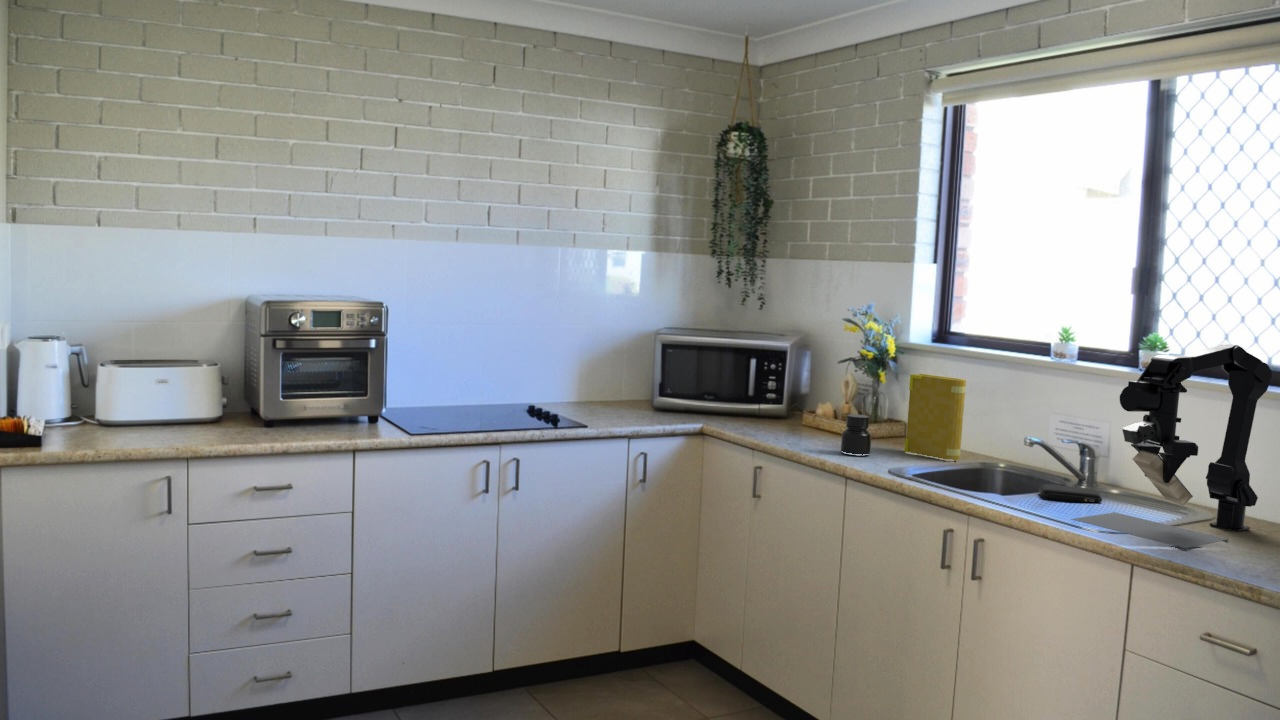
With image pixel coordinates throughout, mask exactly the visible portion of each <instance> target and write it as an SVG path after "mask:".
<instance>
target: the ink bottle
mask: <svg viewBox="0 0 1280 720" xmlns="http://www.w3.org/2000/svg"><path fill="white" fill-rule="evenodd" d="M869 423H870V416H868V415H864V414H857V413H856V414H854V413H853V414H852V413H851V414H846V421H845V424H846V426H845V427H846V429H844V430H843V431H842V433H841V440H840V441H841V444H840V452H841V451H843V452H846V453H852V454H862V455H863V454H870V455H871V450H872V449H871V446H872V433H870V432H869V430H868V429H869V426H870V425H869Z"/></svg>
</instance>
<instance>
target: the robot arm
mask: <svg viewBox="0 0 1280 720" xmlns="http://www.w3.org/2000/svg"><path fill="white" fill-rule="evenodd" d="M1216 367H1217V368H1218V367H1221V369H1222V371H1224V372H1225V373H1226V374H1227V375H1228V381H1227V383H1228V388H1229V391H1230V393H1231V395H1232V400H1231V405H1230V410H1229V415H1228V420H1227V424H1226V430H1225V434H1224V439H1223V443H1222V444H1223V445H1222V450H1221V454H1220V457H1219V458H1217V460H1216V461H1215V462H1212V461H1210V462H1209V464H1208V465H1207V466H1208V469H1207V473H1206V476H1205V479H1206V486H1207V490H1208V494H1209V498H1210V499H1211V500H1212V499H1213V500H1217V503H1218V504H1217V513H1216V520H1215V522H1210V523H1209V525H1208V526H1211V527H1215V528H1220V529H1224V530H1228V531H1232V532H1242V531H1247V530H1251V527H1250V526H1247V525H1245V517H1246V508H1247V507H1250V508H1251V507H1252V506H1253V507H1255V506H1256V504H1257V501H1258V498H1259V497H1258V495H1257V494H1256V493H1255V491H1254V490H1253V488H1252V486H1251V485H1250V480H1251V479H1250V478H1251V477H1250V476H1251V474H1250V473H1251V472H1250V470H1249V468H1248V465H1247V463H1246V457H1247V453H1248V449H1249V447H1248V446H1249V443H1250V438H1251V437H1250V436H1251V433H1252V428H1253V423H1254V418H1255V413H1256V408H1257V403H1258V400H1260V398H1261V397H1262V396H1264V394H1265V393H1266V392H1267V391H1268V390H1269V386H1270V382H1271V381H1272V375H1273V371H1272V369H1271V368H1270V366H1269V364H1267V363H1266V362H1263V361H1262V360H1261V359H1259V358H1258V357H1256V356H1255V355H1253V354H1251V353H1249V352H1247V351H1246V350H1245V348H1243V347H1242V346H1240V345H1238V344H1227V343H1222V344H1221V343H1220V344H1219V345H1217V346H1213V347H1210V348H1205V349H1201V350H1198V351H1194V352H1189V353H1185V354H1182V355H1181V354H1180V355H1178V354H1177V355H1176V354H1174V355H1173V354H1163V355H1161V354H1160V355H1159V354H1158V355H1155V356H1152V358H1151V359H1150V362H1149V363H1148V365H1147V366H1146V367H1145V368H1144V371H1143V372H1142V373H1141V374H1140V376H1139V377H1138V379H1137V381H1136V380H1135V381H1134V380H1129V381H1128V382H1127V383H1128V384H1127V386H1126V387H1124V388H1123V389H1122V390H1121V393H1120V394H1119V404H1120V406H1121V408H1122V409H1123V410H1124V411H1126V412H1130V413H1132V412H1135V413H1136V412H1137V413H1139V412H1141V413H1142V412H1145V414H1144V415H1143V418H1142V421H1139V422H1135V423H1132V424H1129V425H1127V426H1124V427H1121V429H1122V434H1123V438H1124V442H1126V443H1130V445H1131V446H1130V447H1132V448H1134V449H1135V450H1136V451H1137V452H1138V453H1139V452H1140V451H1141V450H1144V451H1147V452H1150V453H1154V454H1157V455H1160V457H1161V458H1162V459H1163V482H1164V483H1169V482H1170V480H1171V479H1172V477H1173V476H1174V475H1176V473H1177V472H1178V470H1179V469H1180V467H1181V466H1182V465H1183V463H1185V461H1186V460H1187V459H1188V458H1191V456H1194V457H1195V456H1196V457H1197V456H1198V454H1199V446H1198V445H1197V443H1196V442H1195V441H1189V440H1185V439H1184V440H1183V439H1180V436H1179V435H1176V432H1177V423H1182V418H1181V417H1178V412H1179V411H1178V410H1179V400H1180V393H1187V392H1188V389H1187V387H1185V386H1184V385H1183V384H1182V382H1184V381H1186V380H1189V379H1190V378H1191V377H1192V375H1193V374H1195V373H1198V372H1202V371H1205V370H1208V369H1213V368H1216ZM1147 412H1148V414H1147ZM1161 448H1162V450H1163V452H1160V451H1161ZM1144 476H1145V477H1146V478H1148V477H1147V476H1146V475H1145V474H1144Z"/></svg>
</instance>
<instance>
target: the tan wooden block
mask: <svg viewBox="0 0 1280 720" xmlns="http://www.w3.org/2000/svg"><path fill="white" fill-rule="evenodd" d="M1132 461H1134V463H1135V464H1136V465H1137V466H1138V468H1139V469H1140V470H1141V471H1142V472H1143V475H1144V476H1145V475H1146V476H1147V477H1146V476H1145V477H1146V478H1147V479H1148V480H1149V481H1150V482H1151V484H1152V485H1153V486H1154V487H1155V488H1156V489H1157V490H1158V492H1159V493H1160V494H1161V496H1162V497H1163V498H1164V499H1165V500H1167V501H1170V502H1173V503H1176V504H1178V505H1181V506H1184V505H1186V504H1187V503H1188V502H1189V501H1191V499H1192V498H1193V497H1194V496H1193V495H1192V494H1191V492H1190V491H1189V489H1188V488H1187V487H1186V486H1185V484H1183V482H1182V481H1181V480H1180V479H1179V478H1178V476H1177V475H1176V474H1175V475H1174V476H1173V477H1172V479H1171V480H1170V482H1169V483H1164V482H1163V459H1162V457H1161V456H1160V455H1159V454H1158V455H1157V454H1154V453H1150V452H1147V451H1144V450H1141V451H1140V452H1138V453H1137V454H1135V455H1134V456H1133V457H1132Z"/></svg>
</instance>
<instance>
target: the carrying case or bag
mask: <svg viewBox="0 0 1280 720" xmlns="http://www.w3.org/2000/svg"><path fill="white" fill-rule="evenodd" d="M1038 492H1039V494H1040V496H1041V497H1042V498H1043V499H1044V500H1048V501H1057V502H1067V503H1076V504H1085V505H1086V504H1087V505H1088V504H1089V505H1099V504H1100V503H1102V501H1103V498H1102V497H1101V495H1100V493H1098V491H1097V490H1096V489H1094V488H1086V487H1077V486H1069V485H1061V484H1060V485H1059V484H1058V485H1057V484H1046V483H1044V484H1042V485H1041V486H1039V488H1038Z"/></svg>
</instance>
